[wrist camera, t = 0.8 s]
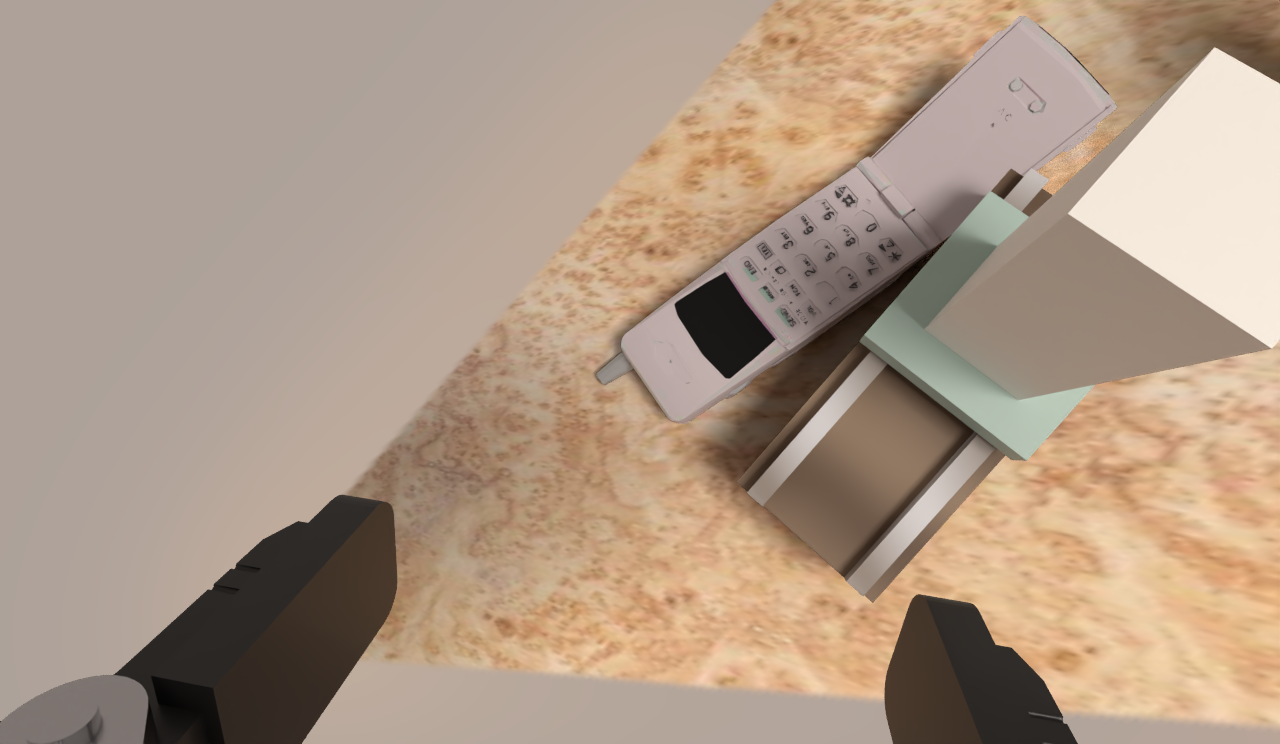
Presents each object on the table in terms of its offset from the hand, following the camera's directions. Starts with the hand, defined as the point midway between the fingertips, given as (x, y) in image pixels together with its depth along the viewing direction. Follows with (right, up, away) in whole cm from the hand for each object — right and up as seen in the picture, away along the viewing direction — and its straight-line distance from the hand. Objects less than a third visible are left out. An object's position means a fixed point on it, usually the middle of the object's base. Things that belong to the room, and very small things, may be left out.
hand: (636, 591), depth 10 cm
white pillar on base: (+14, +5, +15) cm, 21 cm away
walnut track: (+13, +2, +22) cm, 26 cm away
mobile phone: (+9, +9, +24) cm, 27 cm away
